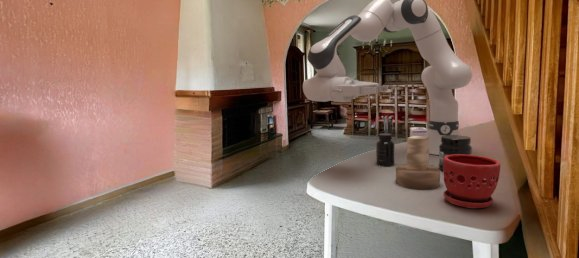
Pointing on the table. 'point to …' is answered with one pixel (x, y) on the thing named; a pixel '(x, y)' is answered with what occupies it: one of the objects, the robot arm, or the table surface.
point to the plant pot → (470, 180)
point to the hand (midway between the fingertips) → (381, 89)
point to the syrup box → (418, 131)
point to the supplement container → (454, 147)
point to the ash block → (418, 153)
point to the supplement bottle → (385, 150)
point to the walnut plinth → (418, 178)
